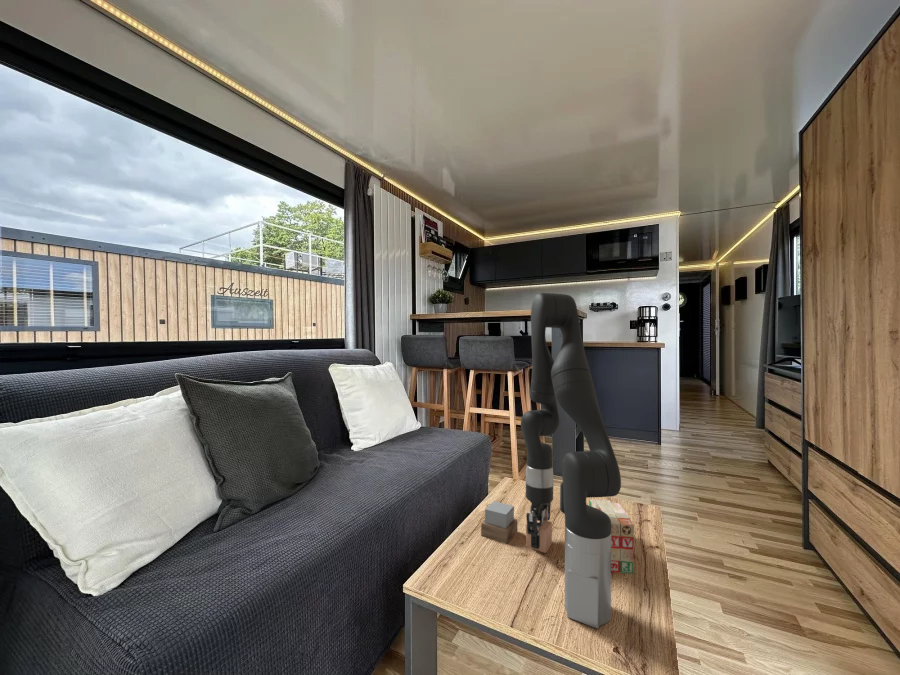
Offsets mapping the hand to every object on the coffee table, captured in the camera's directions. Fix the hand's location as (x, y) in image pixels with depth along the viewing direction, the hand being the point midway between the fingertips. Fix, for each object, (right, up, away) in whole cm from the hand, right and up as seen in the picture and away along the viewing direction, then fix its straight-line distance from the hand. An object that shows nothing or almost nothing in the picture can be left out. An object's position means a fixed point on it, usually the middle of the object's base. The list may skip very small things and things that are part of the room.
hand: (539, 542), depth 104 cm
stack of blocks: (+19, -1, -2) cm, 19 cm away
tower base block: (-10, -1, +6) cm, 12 cm away
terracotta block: (0, -1, 0) cm, 1 cm away
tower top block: (-10, +3, +6) cm, 12 cm away
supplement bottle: (+16, -1, +21) cm, 26 cm away
